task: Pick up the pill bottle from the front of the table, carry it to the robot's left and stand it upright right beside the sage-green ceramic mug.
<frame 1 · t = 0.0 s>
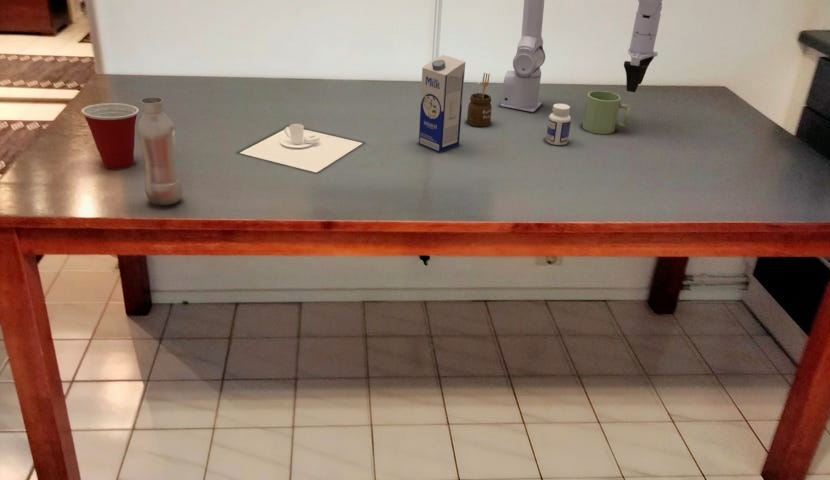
hand: (633, 87, 192), 10 cm above the table, tool pointing down, fingers open, 7 cm apart
pill bottle: (556, 142, 185), on the table
mug: (598, 128, 194), on the table
plastic bottle: (166, 202, 146), on the table
plastic cup: (119, 164, 160), on the table
teacup and saucer: (302, 148, 172), on the table
utensil holder: (478, 123, 193), on the table
milk carton: (438, 145, 179), on the table
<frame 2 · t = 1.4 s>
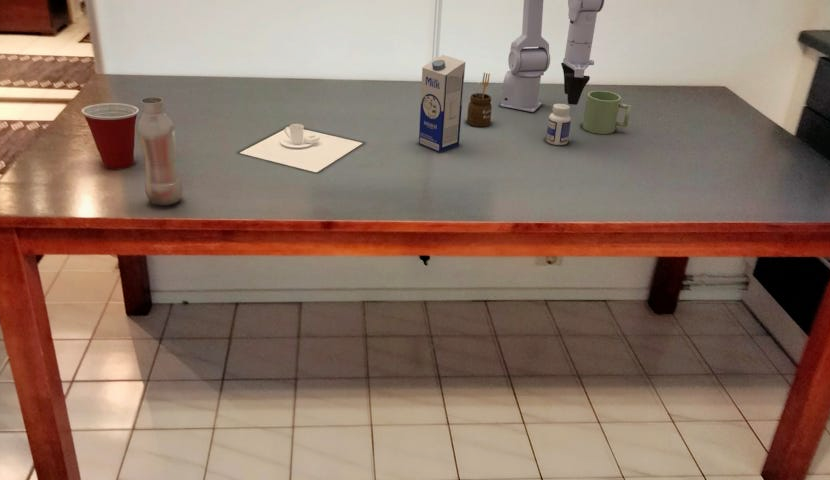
hand: (570, 98, 180), 10 cm above the table, tool pointing down, fingers open, 7 cm apart
nothing on the table moved.
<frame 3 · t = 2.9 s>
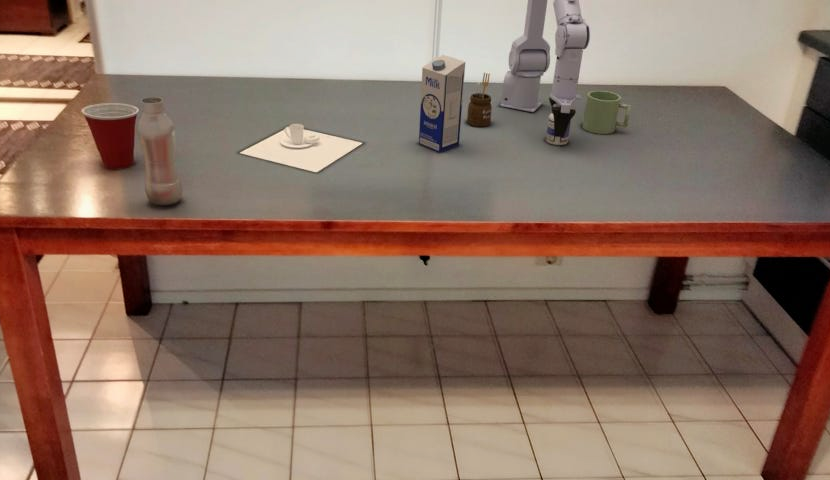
hand: (558, 132, 183), 2 cm above the table, tool pointing down, fingers closed on pill bottle, 5 cm apart
pill bottle: (556, 142, 185), on the table, touching gripper
everything else where it was.
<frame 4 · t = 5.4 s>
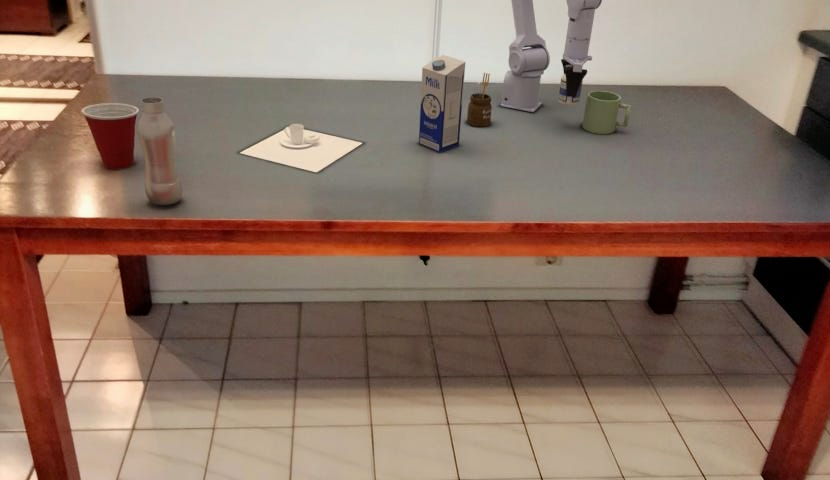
hand: (569, 92, 189), 9 cm above the table, tool pointing down, fingers closed on pill bottle, 5 cm apart
pill bottle: (568, 102, 190), point 6 cm above the table, touching gripper
everything else where it was.
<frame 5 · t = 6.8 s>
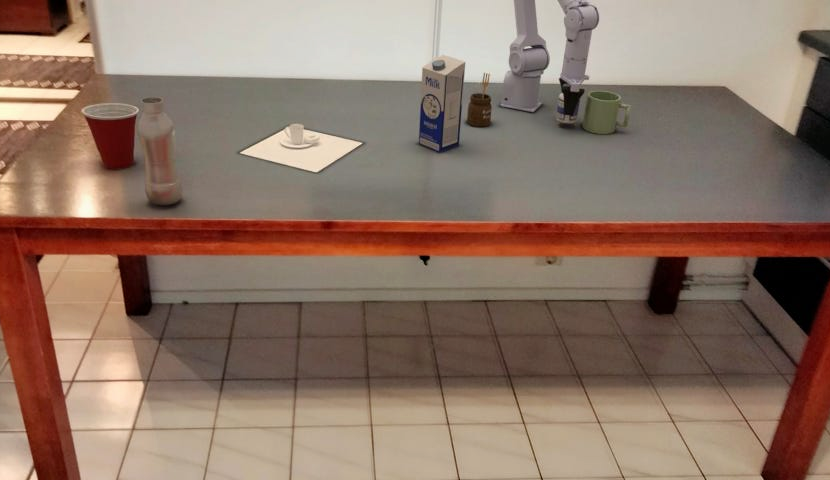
hand: (567, 111, 192), 4 cm above the table, tool pointing down, fingers closed on pill bottle, 5 cm apart
pill bottle: (566, 120, 194), point 1 cm above the table, touching gripper
everything else where it was.
when the fingers open (2 cm above the table, at t = 7.9 s): pill bottle stays where it is, on the table.
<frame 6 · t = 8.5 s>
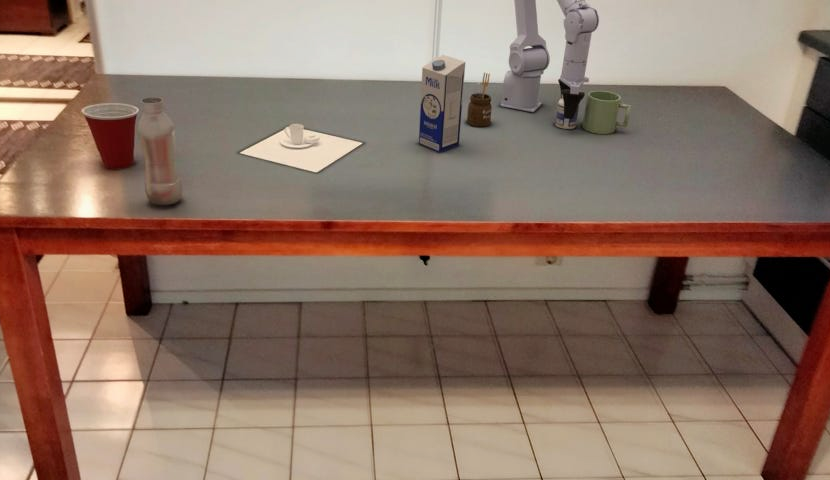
hand: (567, 113, 193), 3 cm above the table, tool pointing down, fingers open, 7 cm apart
pill bottle: (565, 126, 194), on the table
everything else where it was.
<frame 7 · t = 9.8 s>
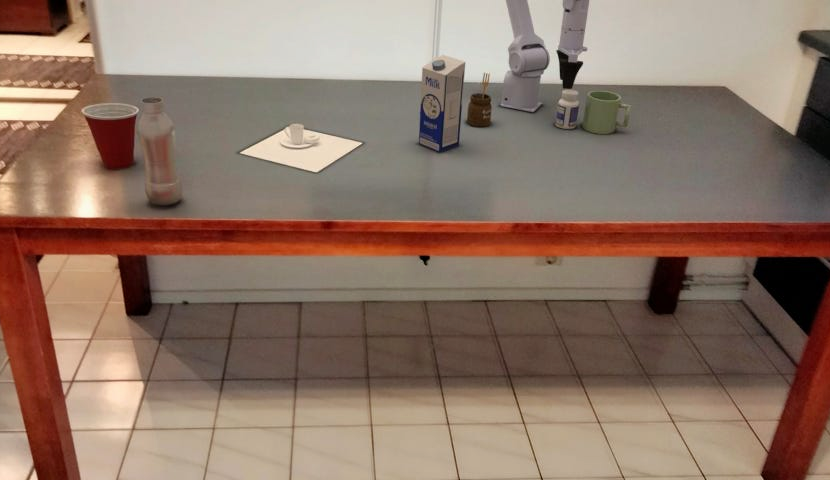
hand: (565, 84, 190), 10 cm above the table, tool pointing down, fingers open, 7 cm apart
nothing on the table moved.
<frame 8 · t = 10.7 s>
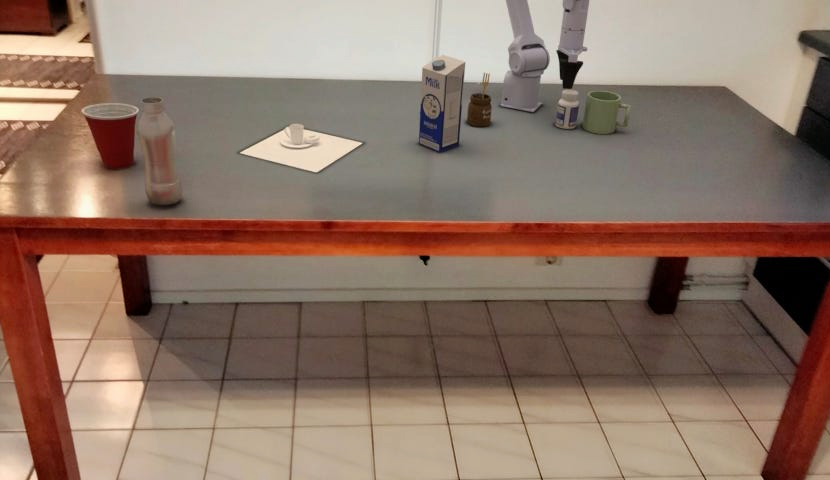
hand: (565, 84, 190), 10 cm above the table, tool pointing down, fingers open, 7 cm apart
nothing on the table moved.
at the end: pill bottle inside the target area (0.0 cm from its centre), on the table; pill bottle 8.5 cm from the mug (horizontally); pill bottle tilted 0° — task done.
